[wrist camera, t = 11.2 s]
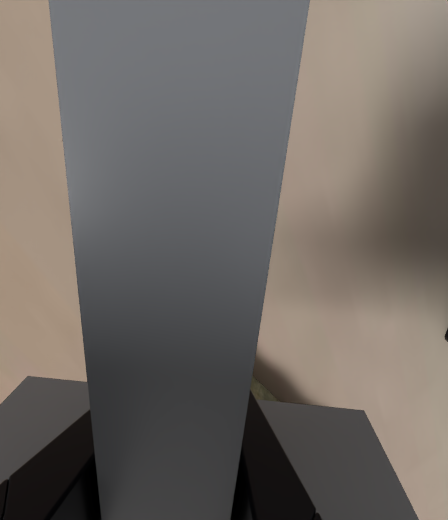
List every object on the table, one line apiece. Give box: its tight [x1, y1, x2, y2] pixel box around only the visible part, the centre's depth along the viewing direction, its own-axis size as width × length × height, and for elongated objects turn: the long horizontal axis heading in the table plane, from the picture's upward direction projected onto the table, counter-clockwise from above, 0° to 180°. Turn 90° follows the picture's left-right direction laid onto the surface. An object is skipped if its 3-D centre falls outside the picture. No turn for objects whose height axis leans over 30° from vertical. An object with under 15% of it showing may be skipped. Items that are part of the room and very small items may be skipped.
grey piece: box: [0, 0, 419, 520], centre depth 6 cm, size 12×12×4 cm
